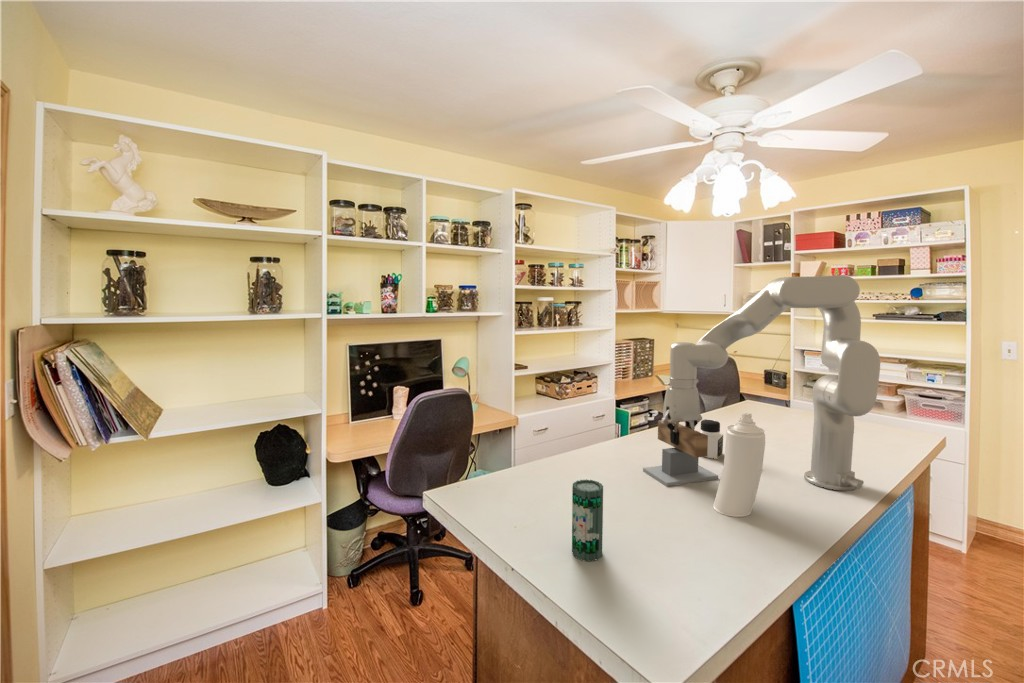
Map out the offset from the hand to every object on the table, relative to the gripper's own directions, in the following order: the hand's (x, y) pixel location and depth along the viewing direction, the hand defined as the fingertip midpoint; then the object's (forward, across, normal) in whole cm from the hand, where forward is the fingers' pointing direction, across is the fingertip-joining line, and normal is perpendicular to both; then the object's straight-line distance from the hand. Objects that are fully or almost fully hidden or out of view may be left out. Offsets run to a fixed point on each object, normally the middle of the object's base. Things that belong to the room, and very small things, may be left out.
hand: (681, 442), depth 137 cm
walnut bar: (+1, 0, 0) cm, 1 cm away
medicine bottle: (+10, -21, -12) cm, 26 cm away
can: (+10, +46, +30) cm, 56 cm away
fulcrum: (+10, 0, 0) cm, 10 cm away
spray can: (+10, 0, +23) cm, 25 cm away
